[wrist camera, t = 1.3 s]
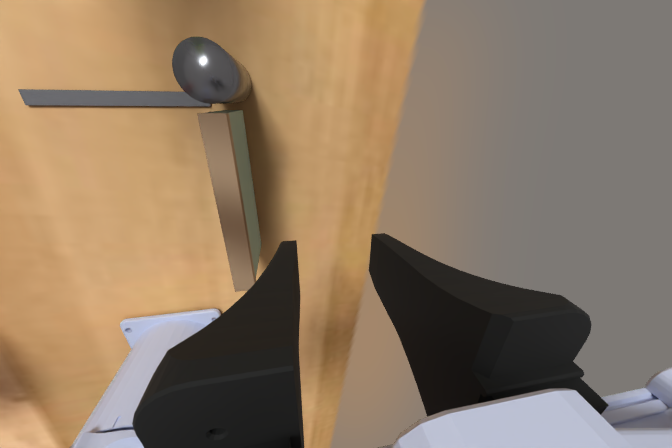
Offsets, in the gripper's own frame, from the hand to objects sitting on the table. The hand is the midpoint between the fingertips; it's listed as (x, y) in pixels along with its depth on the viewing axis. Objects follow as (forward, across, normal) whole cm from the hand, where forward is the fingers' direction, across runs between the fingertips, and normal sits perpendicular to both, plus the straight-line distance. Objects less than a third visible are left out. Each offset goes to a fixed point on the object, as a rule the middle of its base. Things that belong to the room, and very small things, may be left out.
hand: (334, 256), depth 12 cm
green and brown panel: (+9, +5, -1) cm, 10 cm away
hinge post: (+9, +5, -8) cm, 13 cm away
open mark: (+9, +12, -6) cm, 16 cm away
